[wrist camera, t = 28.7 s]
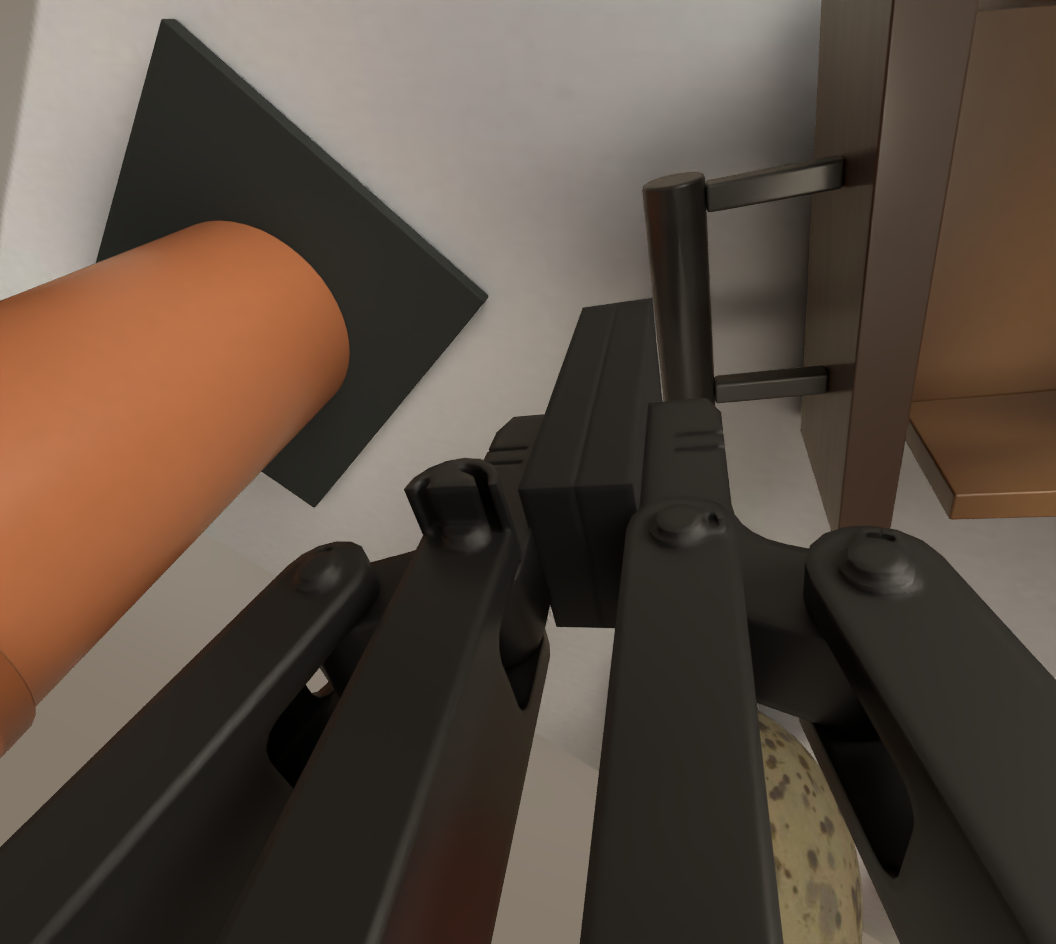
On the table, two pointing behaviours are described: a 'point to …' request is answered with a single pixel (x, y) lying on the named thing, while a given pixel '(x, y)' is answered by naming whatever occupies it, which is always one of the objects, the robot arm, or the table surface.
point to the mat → (289, 239)
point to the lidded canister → (141, 427)
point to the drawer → (903, 260)
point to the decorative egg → (809, 846)
